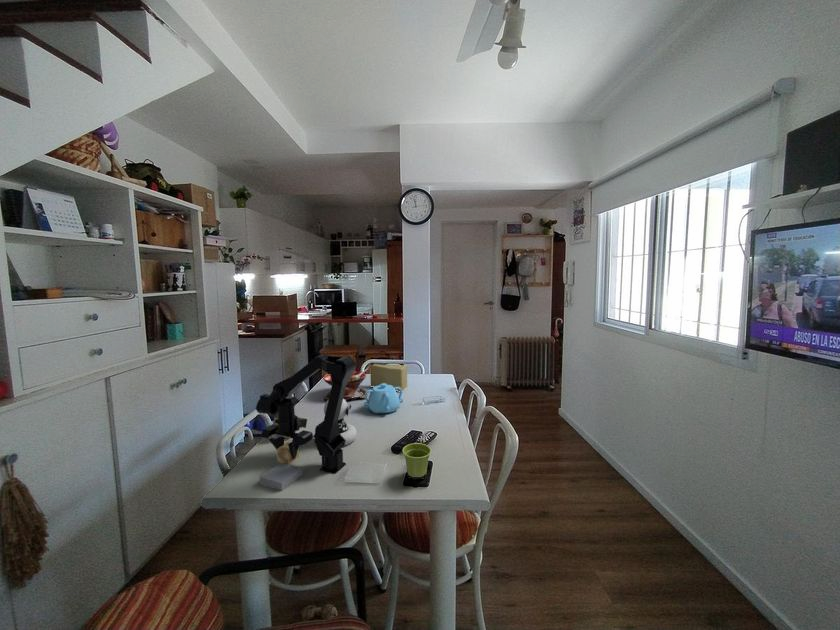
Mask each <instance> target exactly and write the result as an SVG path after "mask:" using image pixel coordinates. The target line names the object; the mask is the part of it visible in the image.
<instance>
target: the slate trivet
mask: <svg viewBox="0 0 840 630" xmlns="http://www.w3.org/2000/svg"><path fill="white" fill-rule="evenodd" d="M303 471H304V469H303V467H302V466H301V467H300V466H297V465H293V464H291V463H290V464H286V463H280V462H279V464H277V465H275V466H274V467H272V468H271V469H270V470H268V471H266V472H265V473H263V474H262V475H260V476H259V482H260V483H259V484H260V486H264V487H267V488H272V489H273V490H279V491H281V492H283V491H285V489H286V488H288V487H289V486H291V485H292V484H293V483H294V482H295V481H297V480H298V479H300V478H301V477H303V475H304V472H303Z"/></svg>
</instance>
